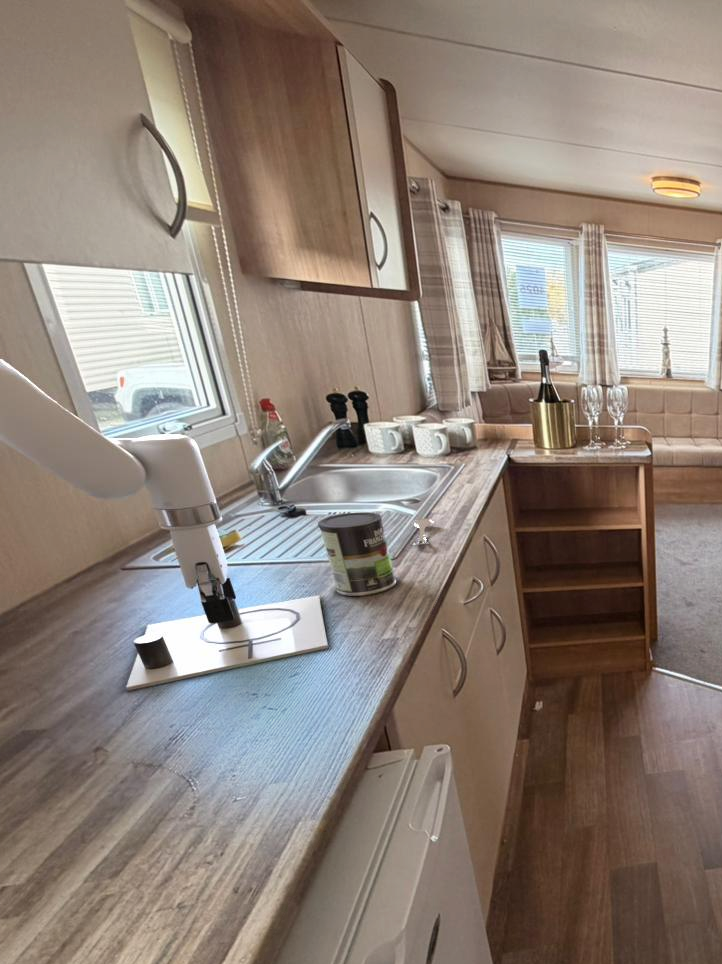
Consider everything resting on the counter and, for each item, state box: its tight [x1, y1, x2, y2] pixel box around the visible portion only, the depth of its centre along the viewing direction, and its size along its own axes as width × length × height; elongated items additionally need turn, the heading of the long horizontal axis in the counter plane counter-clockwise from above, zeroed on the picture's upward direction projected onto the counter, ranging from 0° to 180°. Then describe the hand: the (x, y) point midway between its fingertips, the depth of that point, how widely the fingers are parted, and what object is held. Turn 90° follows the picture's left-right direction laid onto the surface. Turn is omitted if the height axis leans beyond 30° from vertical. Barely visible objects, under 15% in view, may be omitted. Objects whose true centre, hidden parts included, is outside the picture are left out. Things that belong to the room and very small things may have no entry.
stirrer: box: [411, 518, 434, 546], centre depth 155 cm, size 20×4×5 cm
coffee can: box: [317, 511, 397, 597], centre depth 126 cm, size 10×10×14 cm
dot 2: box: [217, 597, 242, 629], centre depth 109 cm, size 3×3×4 cm
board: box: [125, 594, 329, 692], centre depth 107 cm, size 24×24×1 cm
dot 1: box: [132, 634, 173, 669], centre depth 97 cm, size 3×3×4 cm
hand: (223, 610), depth 109 cm, fingers open, 9 cm apart
